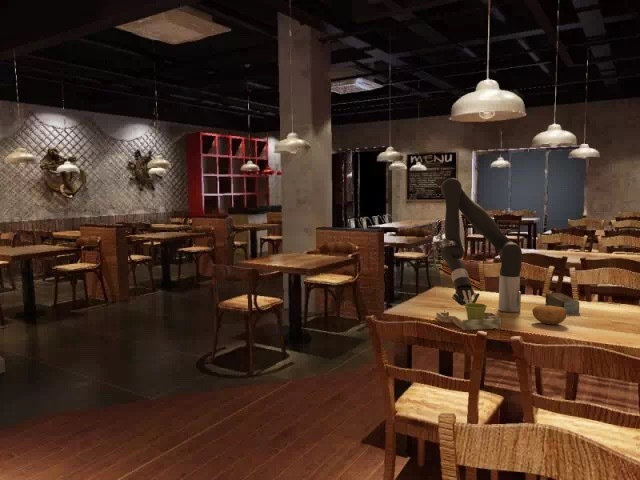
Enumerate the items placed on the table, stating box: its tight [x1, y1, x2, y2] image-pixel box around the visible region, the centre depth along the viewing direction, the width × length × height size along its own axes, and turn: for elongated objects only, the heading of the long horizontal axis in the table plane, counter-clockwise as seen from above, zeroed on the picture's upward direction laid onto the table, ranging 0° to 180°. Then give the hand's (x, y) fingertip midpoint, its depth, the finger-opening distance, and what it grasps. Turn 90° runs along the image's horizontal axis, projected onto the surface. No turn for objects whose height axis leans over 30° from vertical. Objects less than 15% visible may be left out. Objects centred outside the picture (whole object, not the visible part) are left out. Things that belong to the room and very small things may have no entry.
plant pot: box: [464, 302, 488, 320], centre depth 224 cm, size 9×9×9 cm
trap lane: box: [435, 310, 501, 331], centre depth 228 cm, size 26×23×4 cm
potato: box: [531, 305, 568, 325], centre depth 224 cm, size 10×14×8 cm
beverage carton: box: [545, 292, 580, 315], centre depth 251 cm, size 8×19×7 cm, turn 1°
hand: (470, 312), depth 228 cm, fingers closed
